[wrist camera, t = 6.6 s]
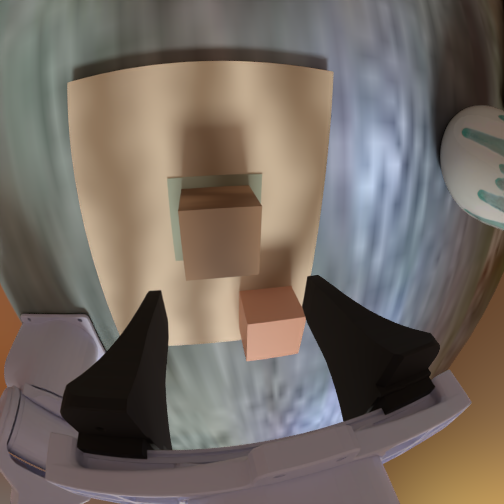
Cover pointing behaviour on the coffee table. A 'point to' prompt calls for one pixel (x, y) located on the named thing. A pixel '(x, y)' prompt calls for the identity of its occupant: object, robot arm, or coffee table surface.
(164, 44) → the coffee table surface
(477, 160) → the vase
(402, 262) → the coffee table surface
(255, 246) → the walnut block
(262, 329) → the terracotta block
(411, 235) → the coffee table surface
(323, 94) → the birch board
